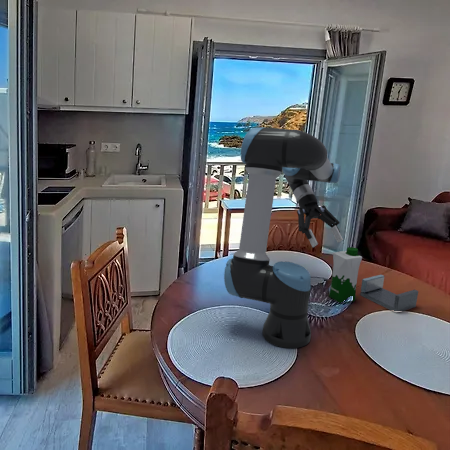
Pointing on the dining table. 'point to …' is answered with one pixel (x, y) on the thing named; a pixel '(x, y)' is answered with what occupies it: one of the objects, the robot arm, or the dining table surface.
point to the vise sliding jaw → (372, 283)
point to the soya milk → (345, 274)
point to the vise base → (392, 299)
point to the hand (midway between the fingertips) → (328, 243)
